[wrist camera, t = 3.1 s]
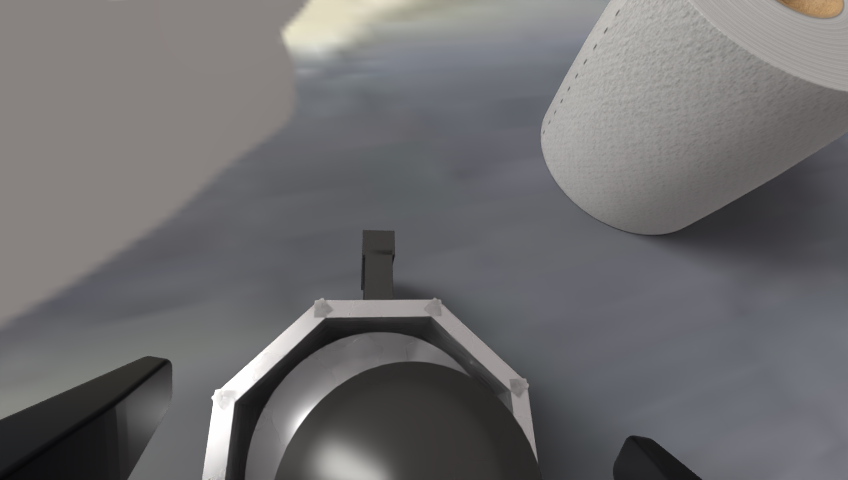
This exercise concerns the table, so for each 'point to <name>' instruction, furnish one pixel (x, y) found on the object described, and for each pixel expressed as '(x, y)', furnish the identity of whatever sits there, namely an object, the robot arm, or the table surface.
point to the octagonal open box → (342, 319)
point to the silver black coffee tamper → (386, 419)
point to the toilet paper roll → (695, 105)
